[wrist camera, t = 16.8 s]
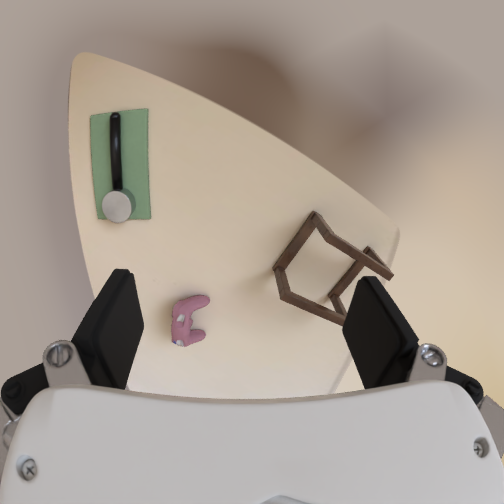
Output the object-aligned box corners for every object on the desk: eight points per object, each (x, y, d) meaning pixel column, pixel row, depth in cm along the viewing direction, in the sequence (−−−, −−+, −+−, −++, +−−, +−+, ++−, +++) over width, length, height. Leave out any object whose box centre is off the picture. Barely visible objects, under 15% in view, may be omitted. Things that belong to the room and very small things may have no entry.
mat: (91, 115, 30) (90, 115, 30) (148, 108, 31) (147, 108, 30) (99, 217, 38) (97, 219, 37) (151, 218, 38) (150, 219, 38)
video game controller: (190, 285, 46) (165, 305, 40) (212, 296, 45) (189, 318, 39) (187, 326, 51) (165, 347, 45) (207, 336, 49) (187, 359, 43)
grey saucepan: (102, 113, 30) (96, 114, 28) (133, 110, 30) (127, 110, 29) (109, 218, 37) (104, 223, 36) (137, 218, 38) (132, 223, 36)
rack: (313, 210, 39) (329, 232, 32) (373, 250, 43) (395, 275, 36) (272, 268, 44) (279, 299, 36) (334, 298, 47) (347, 328, 40)
